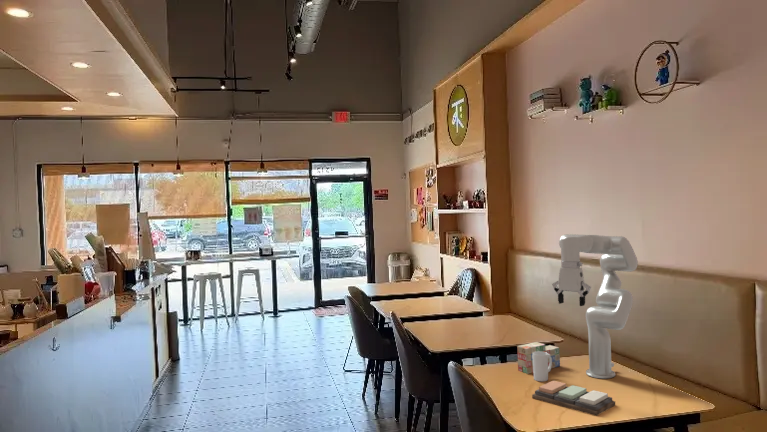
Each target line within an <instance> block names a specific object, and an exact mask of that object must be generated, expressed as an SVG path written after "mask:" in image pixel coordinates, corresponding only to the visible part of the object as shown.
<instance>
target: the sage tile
mask: <svg viewBox="0 0 767 432" xmlns="http://www.w3.org/2000/svg"><path fill="white" fill-rule="evenodd" d="M567 387H568V388H566V389H564V390H562V391H560V392H559V396H561V397H565V398H568V399H572V400H573V399H575V398H576V397H578V396H580V395H582V394H584V393H586V391H587V388H586V387H582V386H577V385H570V386H567Z"/></svg>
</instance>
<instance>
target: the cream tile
mask: <svg viewBox="0 0 767 432" xmlns="http://www.w3.org/2000/svg"><path fill="white" fill-rule="evenodd" d="M588 392H589V393H587V394H585V395H583V396H581V397H579V400H580V402H584V403H587V404H591V405H596V404H597V403H599V402H601V401H603V400H605V399H606V398H608V397H609V395H608V393H606V392H602V391H598V390H594V389H593V390H591V391H588Z"/></svg>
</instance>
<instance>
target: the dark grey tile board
mask: <svg viewBox="0 0 767 432" xmlns="http://www.w3.org/2000/svg"><path fill="white" fill-rule="evenodd" d="M568 387H569V386H568V385H566V388H568ZM566 388H564V389H566ZM564 389H562V390H564ZM562 390H560V391H562ZM560 391H558V392H556V393H554V394H549V393H545V392H542V391H539V388H537V389H536V390H535V391H534V393H532V395H531V397H532V399H535V400H538V401H541V402H545V403H548V404H552V405H557V406H559V407H563V408H566V409H567V408H568V409H571V410H574V411H578V412H582V413H584V414H585V413H586V414H589V415H591V416H596V417H597V416H599V415H601V414H602V413H604V412H606V411H608V410H610V409H611V408H612V407H615V406H616V400H613V397H611V396H608V398H606V399H605V400H603V401H601V402H599V403H597V404H596V405H591V404H587V403H584V402H580V400H579V397H581V396H583V395H585V394H587V393H589V392H590V391H587V390H586V393H584V394H582V395H580V396H578V397H576V398H575V399H573V400H572V399H568V398H565V397H561V396H559V392H560Z"/></svg>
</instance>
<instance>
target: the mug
mask: <svg viewBox="0 0 767 432" xmlns="http://www.w3.org/2000/svg"><path fill="white" fill-rule="evenodd" d="M548 358H549V361H550V363H549V367H548ZM551 366H552V359H551V356H550V354H548V353H547V352H542V351H536V352H533V373H532V374H533V380H534V381H537V382H547V381H549V372H551V370H552V368H551Z"/></svg>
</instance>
